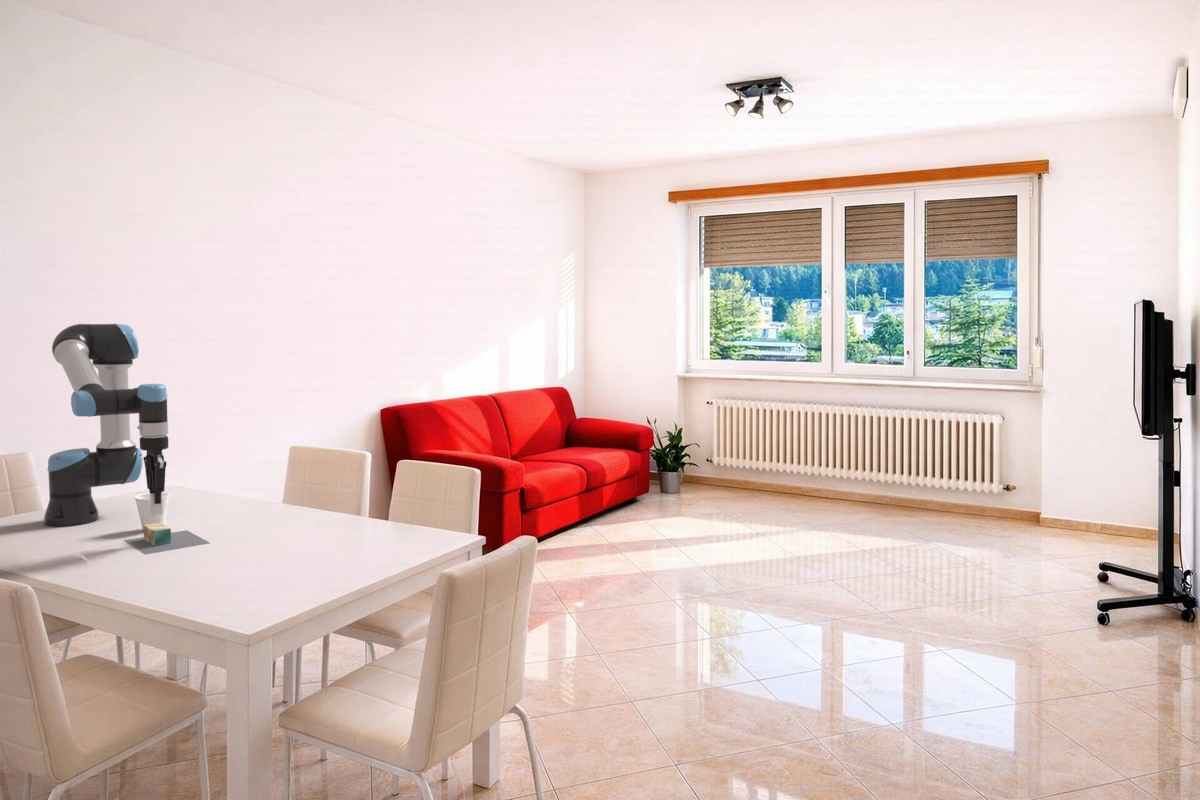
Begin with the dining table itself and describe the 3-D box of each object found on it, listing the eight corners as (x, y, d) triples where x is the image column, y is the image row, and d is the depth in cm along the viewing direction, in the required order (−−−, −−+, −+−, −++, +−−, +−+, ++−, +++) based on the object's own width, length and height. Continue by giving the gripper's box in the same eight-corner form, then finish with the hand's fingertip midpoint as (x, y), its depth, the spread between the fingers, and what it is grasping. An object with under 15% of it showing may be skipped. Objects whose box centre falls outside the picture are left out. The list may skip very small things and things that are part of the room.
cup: (155, 534, 259) (154, 500, 258) (128, 532, 261) (126, 498, 260) (178, 526, 269) (176, 493, 268) (151, 524, 271) (150, 491, 270)
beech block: (154, 546, 245) (143, 539, 252) (171, 543, 249) (159, 536, 256) (154, 531, 245) (143, 524, 252) (170, 528, 248) (159, 522, 255)
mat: (123, 541, 251) (123, 540, 251) (186, 531, 264) (186, 530, 264) (145, 555, 237) (145, 554, 237) (210, 544, 250) (210, 543, 250)
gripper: (133, 434, 249) (136, 511, 251) (147, 439, 240) (150, 519, 242) (160, 432, 254) (162, 508, 257) (175, 437, 245) (177, 515, 248)
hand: (156, 513), depth 249 cm, fingers closed
